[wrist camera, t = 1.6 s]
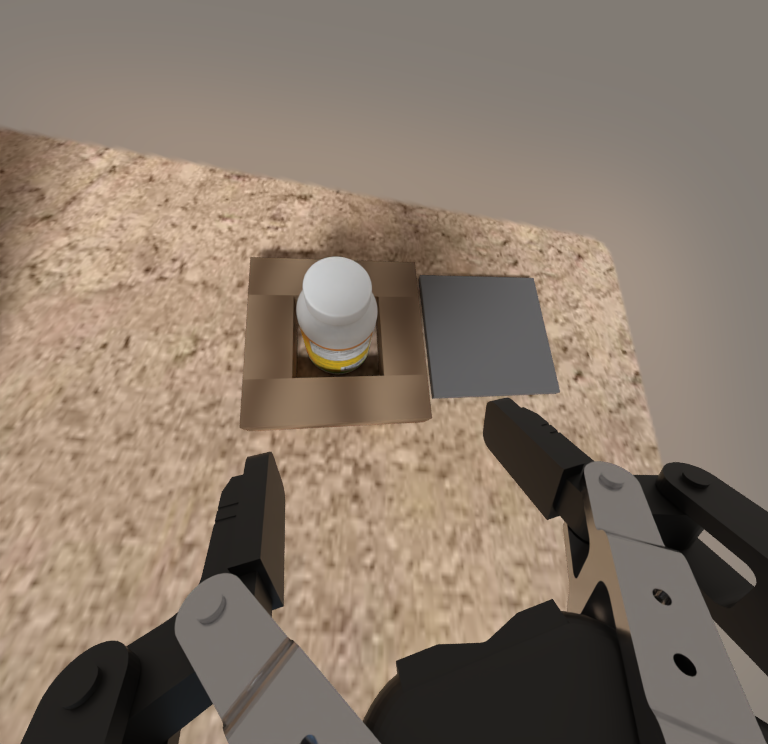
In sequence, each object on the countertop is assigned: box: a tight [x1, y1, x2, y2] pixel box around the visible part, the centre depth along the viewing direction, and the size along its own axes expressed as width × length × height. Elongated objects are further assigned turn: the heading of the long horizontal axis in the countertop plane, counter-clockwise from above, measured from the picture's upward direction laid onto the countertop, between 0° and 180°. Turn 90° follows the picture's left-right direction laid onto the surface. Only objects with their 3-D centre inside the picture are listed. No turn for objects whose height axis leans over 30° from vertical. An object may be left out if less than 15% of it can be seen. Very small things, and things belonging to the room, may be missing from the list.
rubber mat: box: [419, 275, 560, 399], centre depth 29 cm, size 12×12×1 cm
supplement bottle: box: [296, 257, 377, 374], centre depth 22 cm, size 5×5×10 cm
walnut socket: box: [240, 257, 432, 431], centre depth 25 cm, size 14×14×2 cm
